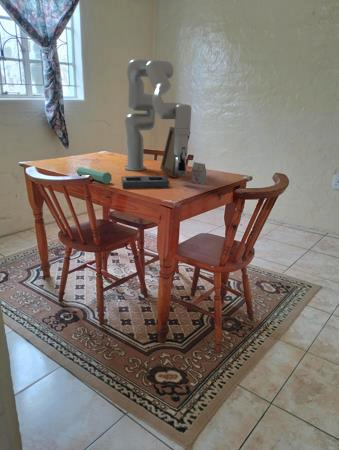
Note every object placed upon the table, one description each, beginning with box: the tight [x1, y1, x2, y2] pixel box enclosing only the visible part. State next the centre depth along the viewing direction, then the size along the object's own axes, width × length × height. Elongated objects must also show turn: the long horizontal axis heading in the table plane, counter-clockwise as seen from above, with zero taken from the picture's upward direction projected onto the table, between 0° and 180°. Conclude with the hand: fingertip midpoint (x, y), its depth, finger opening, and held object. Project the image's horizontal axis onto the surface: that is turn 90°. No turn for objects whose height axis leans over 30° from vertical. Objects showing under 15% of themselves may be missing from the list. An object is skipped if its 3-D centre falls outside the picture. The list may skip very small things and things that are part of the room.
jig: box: [121, 175, 170, 189], centre depth 173 cm, size 12×22×3 cm, turn 100°
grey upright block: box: [190, 161, 207, 185], centre depth 180 cm, size 4×7×10 cm, turn 48°
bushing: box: [175, 156, 187, 176], centre depth 174 cm, size 5×5×8 cm
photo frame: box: [160, 126, 191, 179], centre depth 197 cm, size 15×22×25 cm
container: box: [76, 166, 113, 185], centre depth 181 cm, size 6×6×25 cm
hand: (180, 168), depth 175 cm, fingers closed on bushing, 5 cm apart
